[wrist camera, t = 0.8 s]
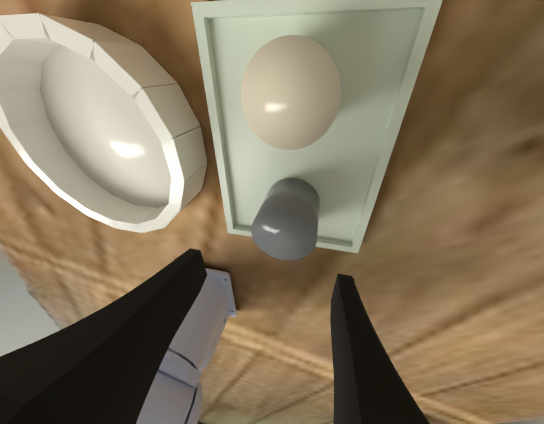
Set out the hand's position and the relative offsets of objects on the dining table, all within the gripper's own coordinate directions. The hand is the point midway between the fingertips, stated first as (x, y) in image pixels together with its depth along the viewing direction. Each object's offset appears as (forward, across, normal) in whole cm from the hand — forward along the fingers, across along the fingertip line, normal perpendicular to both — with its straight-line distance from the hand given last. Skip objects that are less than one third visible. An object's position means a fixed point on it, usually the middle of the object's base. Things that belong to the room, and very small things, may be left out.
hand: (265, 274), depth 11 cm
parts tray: (+8, 0, -4) cm, 9 cm away
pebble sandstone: (+8, 0, -8) cm, 11 cm away
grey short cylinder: (+8, 0, 0) cm, 8 cm away
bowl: (+8, +15, -4) cm, 17 cm away
